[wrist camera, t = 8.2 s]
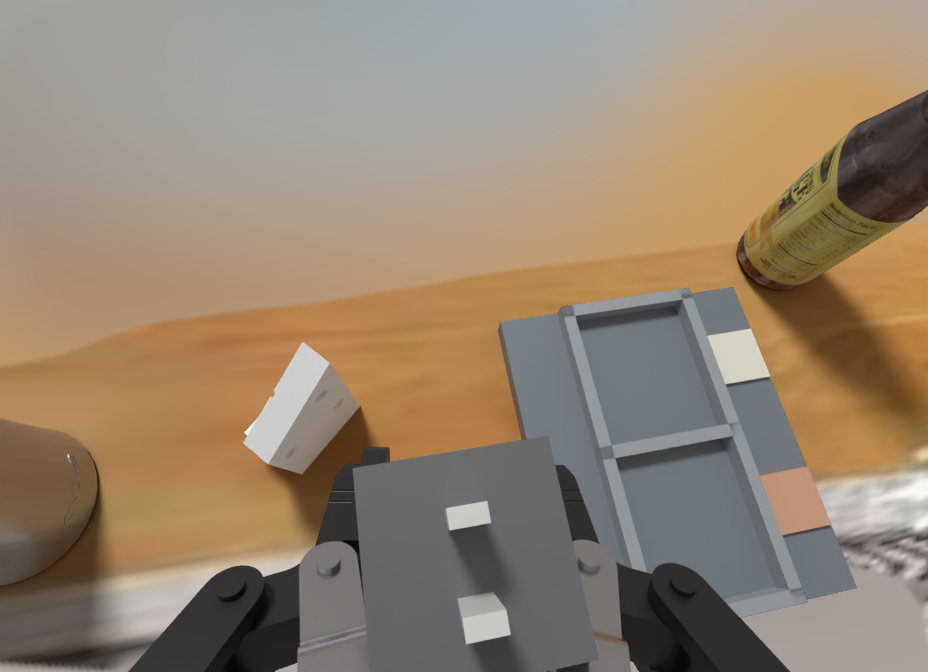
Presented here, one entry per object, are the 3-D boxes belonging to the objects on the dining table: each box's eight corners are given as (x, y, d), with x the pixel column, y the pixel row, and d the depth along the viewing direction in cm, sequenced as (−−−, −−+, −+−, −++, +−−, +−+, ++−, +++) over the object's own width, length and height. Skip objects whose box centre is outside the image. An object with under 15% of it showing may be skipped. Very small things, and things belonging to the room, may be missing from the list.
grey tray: (567, 646, 29) (580, 659, 26) (497, 330, 36) (502, 315, 33) (836, 584, 31) (873, 590, 28) (721, 296, 38) (742, 279, 35)
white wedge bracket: (397, 347, 32) (329, 363, 24) (325, 460, 34) (239, 511, 26) (356, 316, 33) (276, 321, 24) (288, 429, 35) (191, 469, 26)
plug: (410, 595, 18) (357, 760, 6) (398, 493, 19) (334, 458, 7) (505, 576, 18) (639, 694, 6) (488, 478, 19) (571, 419, 7)
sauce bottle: (767, 215, 40) (1046, -39, 22) (822, 270, 39) (1176, 47, 20) (712, 251, 39) (962, 11, 20) (768, 310, 37) (1095, 108, 19)
